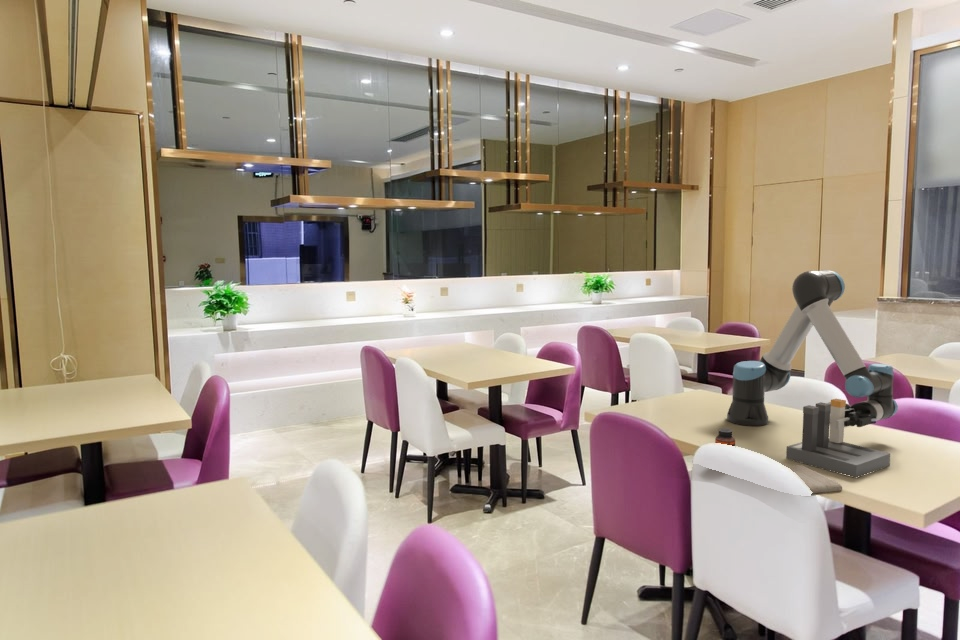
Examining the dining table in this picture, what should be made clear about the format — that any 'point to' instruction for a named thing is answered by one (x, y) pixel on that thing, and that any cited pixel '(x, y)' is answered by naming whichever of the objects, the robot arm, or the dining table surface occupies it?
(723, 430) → the supplement bottle
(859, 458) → the grey peg stand
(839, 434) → the handle
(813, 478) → the washcloth
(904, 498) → the dining table surface
